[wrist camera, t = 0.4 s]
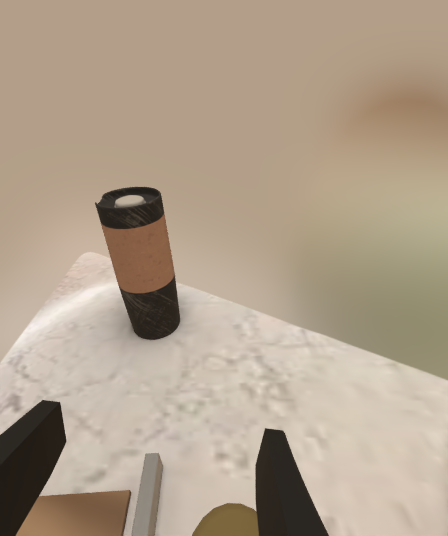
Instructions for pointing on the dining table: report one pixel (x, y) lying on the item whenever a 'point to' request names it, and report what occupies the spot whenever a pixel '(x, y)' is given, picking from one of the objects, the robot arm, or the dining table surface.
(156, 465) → the low wall
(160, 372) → the dining table surface
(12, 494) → the robot arm
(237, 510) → the cork
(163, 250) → the travel mug
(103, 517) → the walnut board
